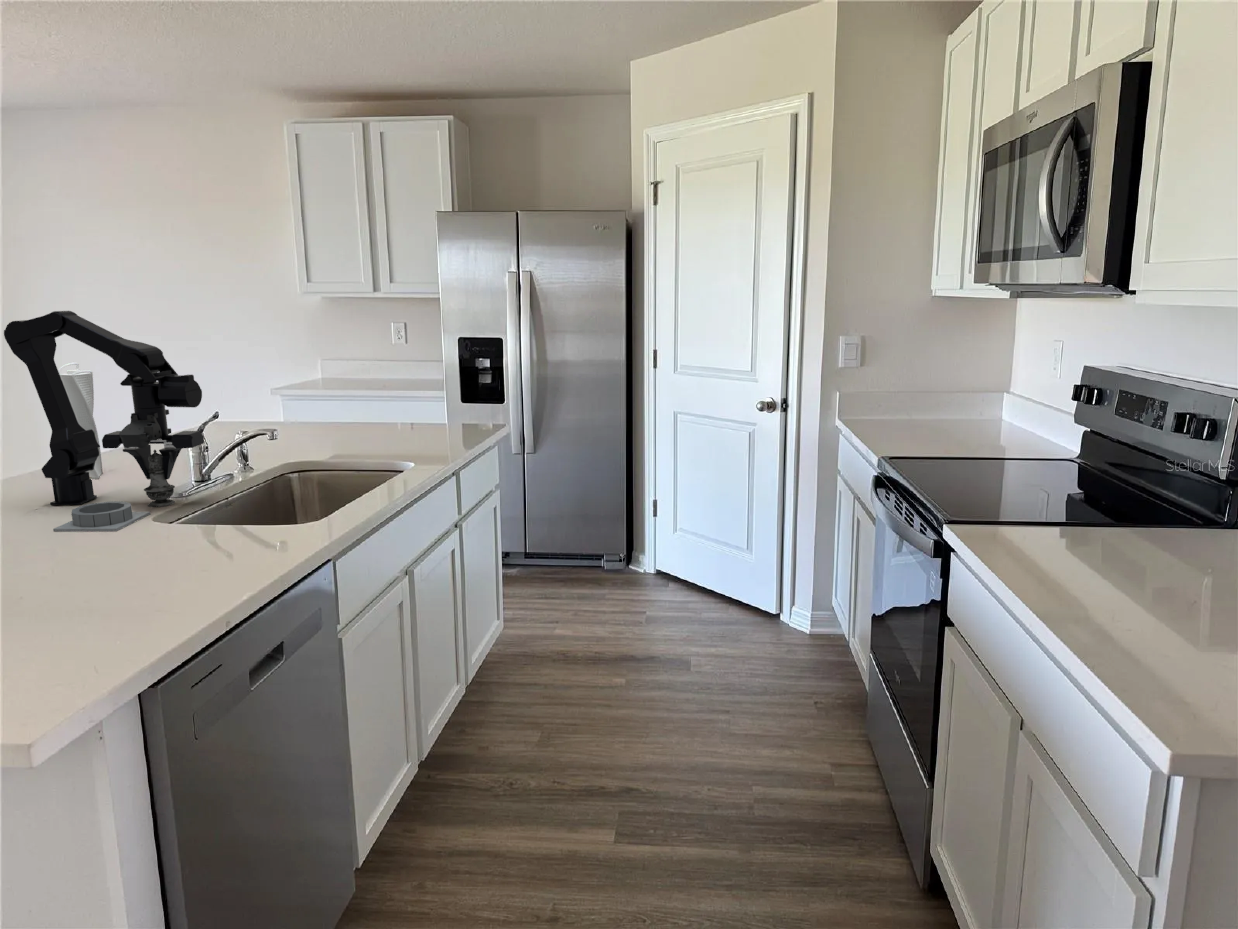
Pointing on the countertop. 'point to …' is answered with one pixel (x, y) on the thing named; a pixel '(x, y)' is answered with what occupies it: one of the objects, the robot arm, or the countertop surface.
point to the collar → (102, 517)
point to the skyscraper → (82, 405)
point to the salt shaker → (158, 483)
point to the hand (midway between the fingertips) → (158, 479)
